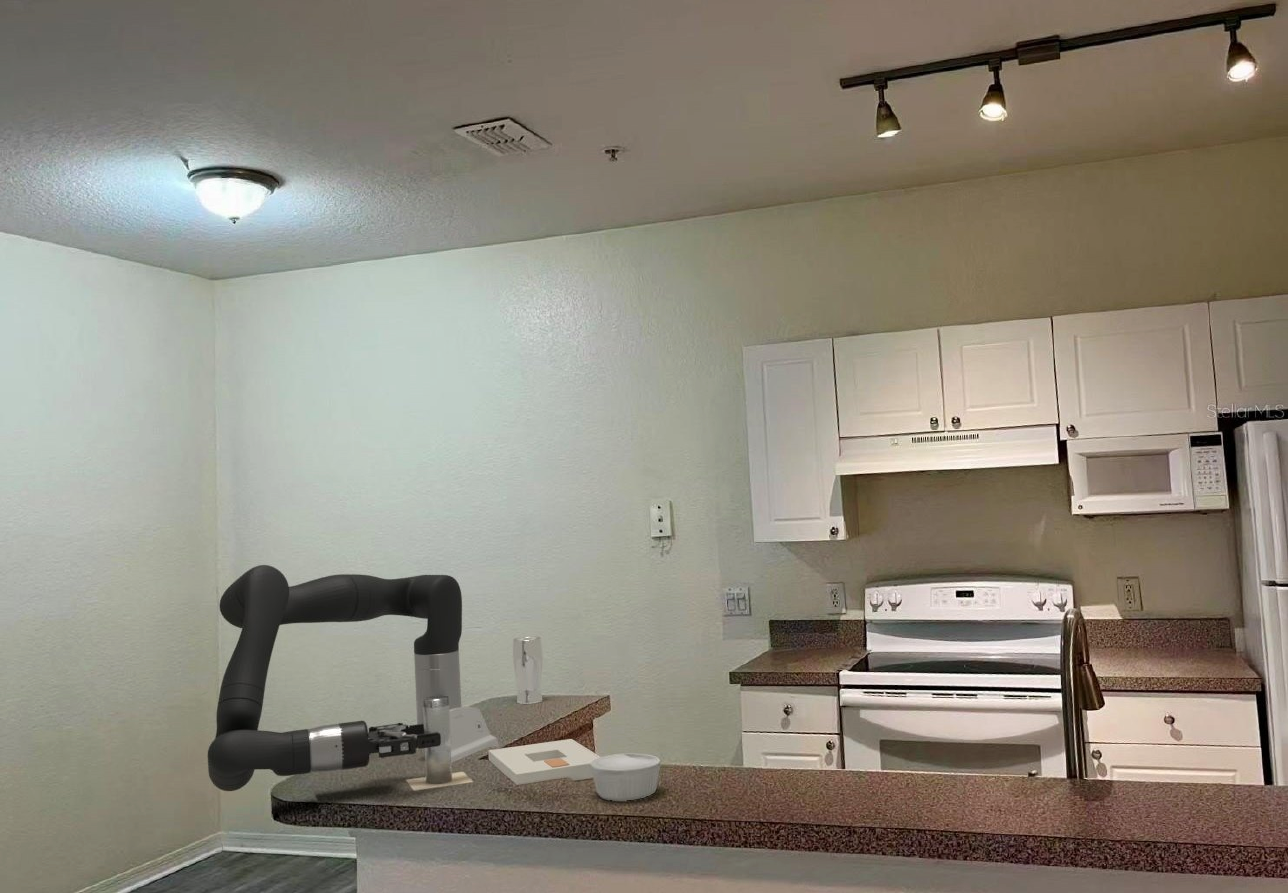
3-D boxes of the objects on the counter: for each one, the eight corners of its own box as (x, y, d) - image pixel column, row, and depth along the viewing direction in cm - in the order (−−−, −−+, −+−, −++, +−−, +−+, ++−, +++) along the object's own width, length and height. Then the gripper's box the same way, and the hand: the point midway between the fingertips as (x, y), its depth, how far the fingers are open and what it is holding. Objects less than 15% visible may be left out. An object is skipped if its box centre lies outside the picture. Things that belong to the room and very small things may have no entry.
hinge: (452, 767, 197) (434, 714, 199) (432, 775, 199) (414, 722, 200) (500, 746, 212) (483, 697, 214) (481, 753, 214) (465, 704, 216)
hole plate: (488, 764, 198) (488, 749, 198) (572, 752, 204) (571, 737, 204) (517, 789, 179) (516, 773, 179) (607, 775, 185) (606, 759, 185)
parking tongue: (405, 784, 186) (405, 779, 186) (463, 776, 190) (463, 771, 190) (413, 795, 179) (413, 790, 179) (473, 786, 183) (473, 781, 183)
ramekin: (673, 787, 176) (671, 755, 176) (641, 807, 166) (639, 772, 166) (614, 782, 181) (612, 750, 182) (579, 800, 171) (577, 767, 172)
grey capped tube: (424, 779, 186) (420, 697, 186) (449, 775, 187) (446, 694, 188) (428, 785, 182) (425, 701, 182) (454, 781, 183) (451, 698, 184)
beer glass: (528, 698, 262) (525, 636, 263) (550, 700, 258) (547, 637, 259) (509, 703, 257) (506, 640, 257) (531, 705, 253) (528, 641, 253)
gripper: (341, 732, 172) (442, 719, 178) (332, 716, 186) (427, 705, 192) (343, 779, 172) (444, 765, 178) (334, 760, 185) (429, 747, 191)
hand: (435, 734), depth 185 cm, fingers open, 8 cm apart
